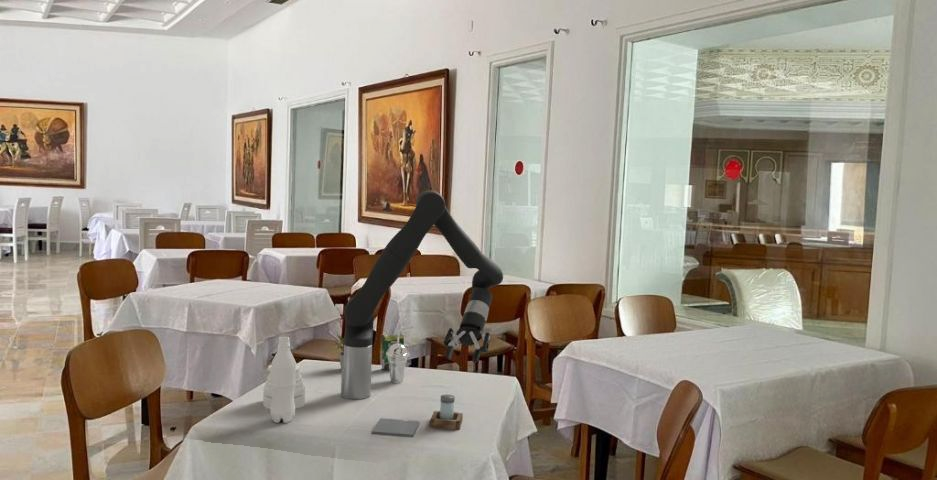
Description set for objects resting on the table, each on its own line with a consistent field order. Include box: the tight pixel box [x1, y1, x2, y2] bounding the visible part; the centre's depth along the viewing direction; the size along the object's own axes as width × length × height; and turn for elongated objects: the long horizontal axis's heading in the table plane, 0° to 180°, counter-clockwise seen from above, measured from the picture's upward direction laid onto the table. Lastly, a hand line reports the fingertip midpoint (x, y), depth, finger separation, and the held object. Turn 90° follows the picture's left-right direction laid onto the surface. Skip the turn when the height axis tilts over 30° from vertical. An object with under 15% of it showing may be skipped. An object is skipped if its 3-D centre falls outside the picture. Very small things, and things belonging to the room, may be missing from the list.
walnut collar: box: [429, 410, 464, 431], centre depth 232 cm, size 9×9×2 cm
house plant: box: [330, 329, 344, 371], centre depth 289 cm, size 14×14×16 cm
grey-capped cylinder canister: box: [439, 394, 456, 420], centre depth 232 cm, size 4×4×8 cm
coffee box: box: [381, 333, 405, 371], centre depth 291 cm, size 8×3×13 cm, turn 114°
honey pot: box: [262, 345, 306, 410], centre depth 244 cm, size 13×13×18 cm
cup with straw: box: [386, 325, 414, 384], centre depth 275 cm, size 8×9×20 cm
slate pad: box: [371, 417, 421, 437], centre depth 226 cm, size 12×12×1 cm
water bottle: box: [269, 336, 297, 424], centre depth 227 cm, size 7×7×25 cm
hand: (461, 360), depth 239 cm, fingers open, 8 cm apart
